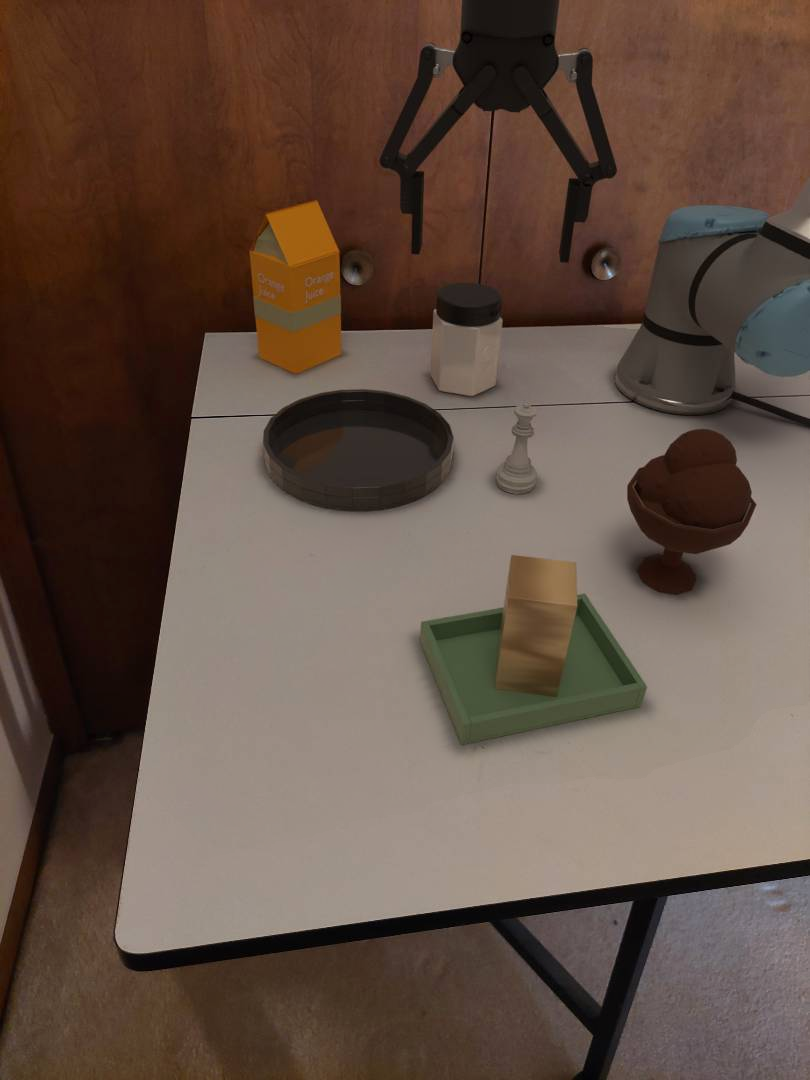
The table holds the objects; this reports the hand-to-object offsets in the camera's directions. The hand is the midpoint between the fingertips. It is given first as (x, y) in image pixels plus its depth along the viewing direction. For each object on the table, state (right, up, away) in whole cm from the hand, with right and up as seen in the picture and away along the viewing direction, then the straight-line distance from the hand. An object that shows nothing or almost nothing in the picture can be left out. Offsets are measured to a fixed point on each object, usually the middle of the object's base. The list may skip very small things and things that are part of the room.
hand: (489, 253), depth 74 cm
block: (+2, -37, -8) cm, 38 cm away
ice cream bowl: (+17, -30, +3) cm, 35 cm away
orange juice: (-22, -1, +38) cm, 44 cm away
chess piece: (+4, -20, +14) cm, 25 cm away
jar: (0, -5, +33) cm, 33 cm away
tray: (+2, -38, -8) cm, 38 cm away
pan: (-13, -17, +18) cm, 28 cm away
